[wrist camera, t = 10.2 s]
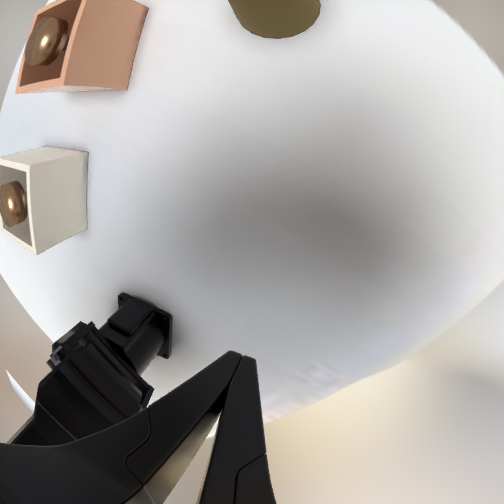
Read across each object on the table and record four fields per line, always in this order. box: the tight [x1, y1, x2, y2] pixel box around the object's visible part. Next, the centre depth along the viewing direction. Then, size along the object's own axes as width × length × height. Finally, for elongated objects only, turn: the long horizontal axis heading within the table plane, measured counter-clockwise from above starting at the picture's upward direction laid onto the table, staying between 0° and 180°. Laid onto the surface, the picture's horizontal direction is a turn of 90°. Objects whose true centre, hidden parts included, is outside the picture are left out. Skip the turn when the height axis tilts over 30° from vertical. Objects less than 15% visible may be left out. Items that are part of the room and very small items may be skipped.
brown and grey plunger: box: [25, 17, 70, 66], centre depth 13 cm, size 6×6×7 cm
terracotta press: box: [16, 0, 148, 94], centre depth 14 cm, size 8×8×7 cm
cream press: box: [0, 146, 88, 255], centre depth 21 cm, size 8×8×7 cm
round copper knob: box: [0, 181, 28, 227], centre depth 20 cm, size 6×6×7 cm
